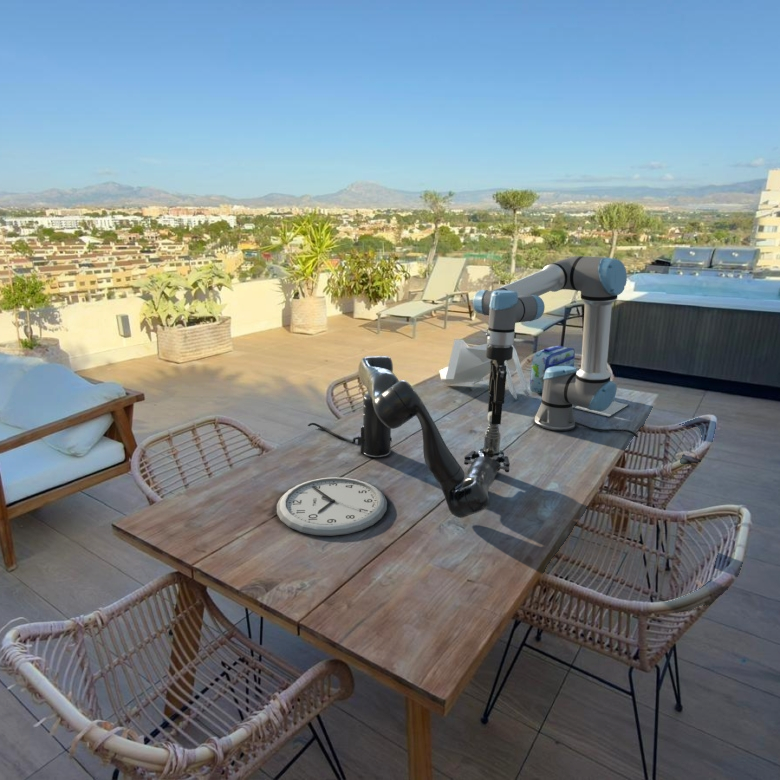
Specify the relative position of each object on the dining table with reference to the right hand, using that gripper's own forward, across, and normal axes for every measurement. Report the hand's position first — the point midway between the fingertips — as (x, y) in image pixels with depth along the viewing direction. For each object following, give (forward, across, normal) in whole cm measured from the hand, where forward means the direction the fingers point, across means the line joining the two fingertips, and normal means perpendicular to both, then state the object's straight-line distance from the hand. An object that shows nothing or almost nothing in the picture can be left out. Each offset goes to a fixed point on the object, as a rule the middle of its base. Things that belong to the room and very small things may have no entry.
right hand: (493, 419), depth 158 cm
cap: (-2, 0, 0) cm, 2 cm away
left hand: (+12, -2, +1) cm, 12 cm away
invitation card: (+18, -67, +58) cm, 91 cm away
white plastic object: (+18, -84, +8) cm, 86 cm away
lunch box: (+18, -89, +42) cm, 100 cm away
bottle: (+18, 0, 0) cm, 18 cm away
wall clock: (+18, +23, -46) cm, 55 cm away
